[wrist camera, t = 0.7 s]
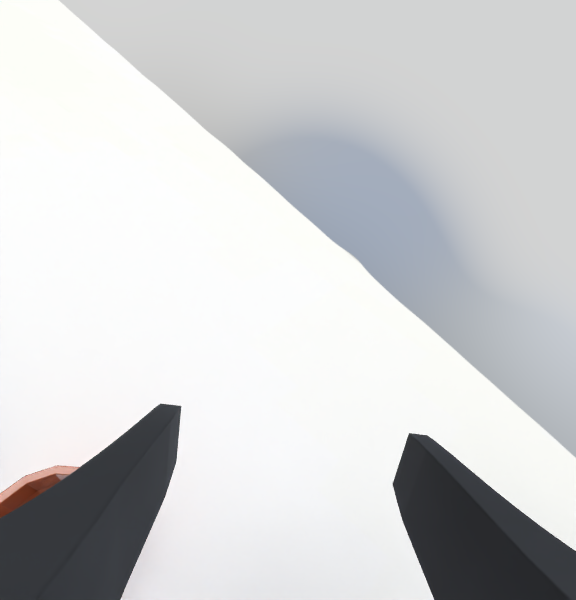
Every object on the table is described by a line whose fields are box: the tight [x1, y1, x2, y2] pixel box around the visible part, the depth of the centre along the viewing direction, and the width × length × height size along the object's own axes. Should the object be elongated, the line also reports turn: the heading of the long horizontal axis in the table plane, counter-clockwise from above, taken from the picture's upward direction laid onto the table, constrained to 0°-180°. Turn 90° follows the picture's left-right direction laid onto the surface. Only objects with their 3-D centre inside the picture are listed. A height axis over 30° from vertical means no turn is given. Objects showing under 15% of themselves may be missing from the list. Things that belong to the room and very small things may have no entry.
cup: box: [0, 466, 80, 518], centre depth 17 cm, size 6×6×5 cm
